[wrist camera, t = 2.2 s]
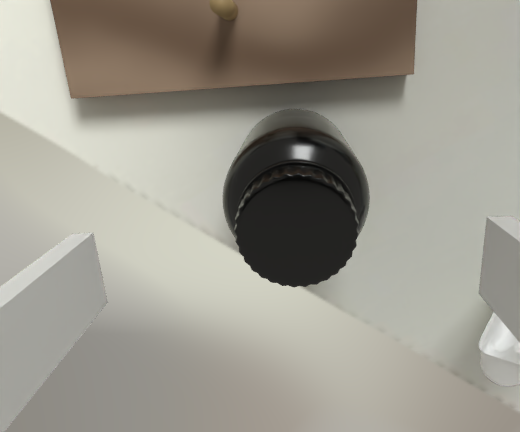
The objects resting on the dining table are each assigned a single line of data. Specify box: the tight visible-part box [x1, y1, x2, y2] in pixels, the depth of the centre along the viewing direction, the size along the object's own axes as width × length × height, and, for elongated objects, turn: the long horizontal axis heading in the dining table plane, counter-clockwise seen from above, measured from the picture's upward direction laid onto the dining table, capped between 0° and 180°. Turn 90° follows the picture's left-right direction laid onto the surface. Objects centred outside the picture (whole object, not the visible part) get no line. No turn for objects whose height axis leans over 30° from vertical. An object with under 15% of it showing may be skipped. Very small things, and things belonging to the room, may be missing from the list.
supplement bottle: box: [223, 109, 370, 287], centre depth 22 cm, size 7×7×12 cm
